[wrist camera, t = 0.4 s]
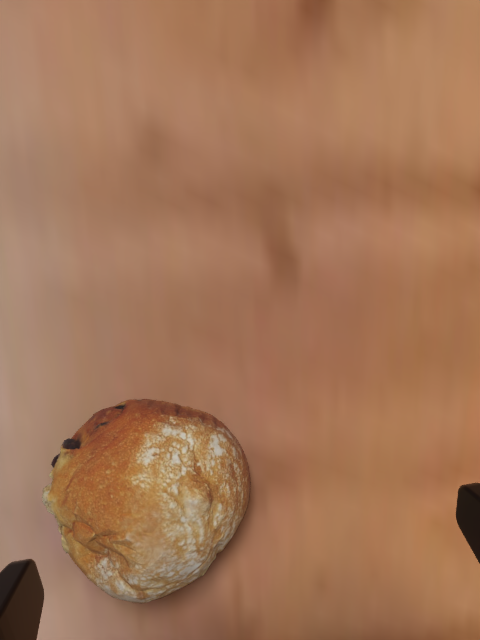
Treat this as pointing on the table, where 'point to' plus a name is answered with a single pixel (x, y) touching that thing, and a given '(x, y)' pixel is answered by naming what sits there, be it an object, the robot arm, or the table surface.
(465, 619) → the table surface
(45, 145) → the table surface
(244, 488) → the bread roll
